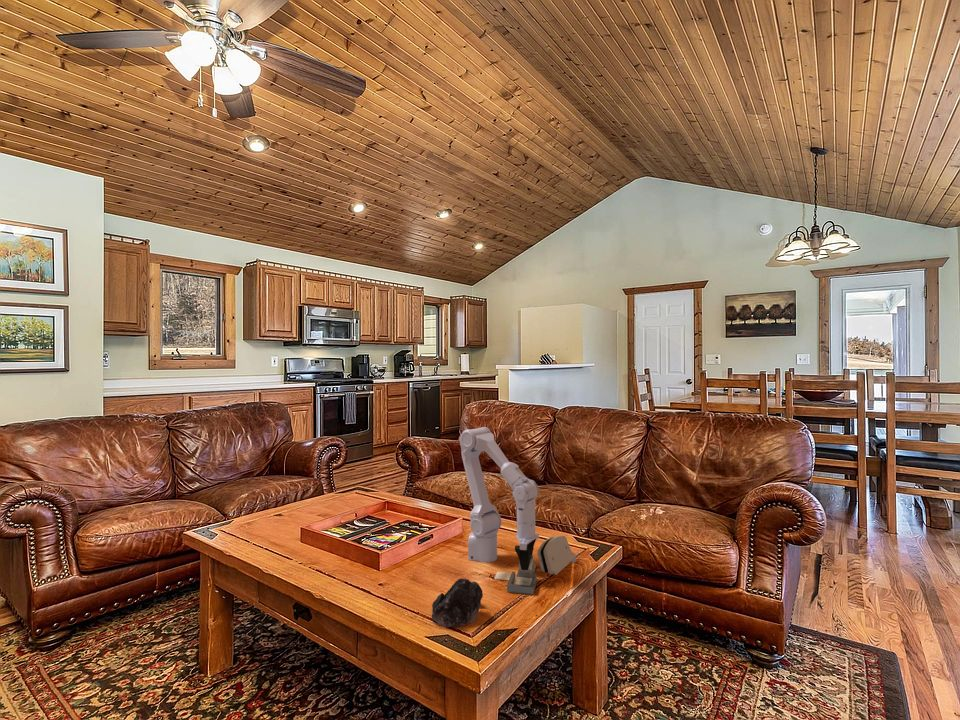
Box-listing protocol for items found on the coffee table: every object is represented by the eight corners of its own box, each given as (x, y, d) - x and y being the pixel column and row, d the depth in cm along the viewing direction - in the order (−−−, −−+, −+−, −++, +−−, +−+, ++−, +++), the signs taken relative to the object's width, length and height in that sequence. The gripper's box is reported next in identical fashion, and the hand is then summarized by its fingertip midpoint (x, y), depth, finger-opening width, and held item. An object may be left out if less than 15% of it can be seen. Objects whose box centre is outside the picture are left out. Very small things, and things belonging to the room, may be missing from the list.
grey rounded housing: (556, 578, 150) (546, 545, 152) (543, 580, 152) (533, 548, 154) (577, 559, 164) (568, 529, 166) (565, 561, 166) (555, 531, 168)
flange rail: (507, 595, 140) (507, 585, 140) (517, 567, 158) (516, 558, 158) (533, 598, 138) (533, 587, 138) (540, 569, 157) (540, 559, 157)
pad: (494, 581, 148) (494, 578, 148) (497, 574, 153) (497, 571, 153) (510, 583, 147) (510, 580, 147) (513, 576, 152) (513, 572, 152)
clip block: (519, 572, 151) (518, 555, 151) (520, 567, 155) (520, 550, 155) (532, 573, 150) (531, 556, 150) (533, 568, 154) (533, 551, 154)
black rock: (420, 625, 126) (420, 589, 125) (444, 596, 139) (445, 563, 138) (467, 640, 121) (468, 603, 120) (488, 609, 134) (489, 575, 132)
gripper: (536, 529, 145) (536, 575, 145) (541, 514, 159) (541, 555, 159) (512, 528, 146) (513, 573, 146) (519, 512, 160) (520, 554, 160)
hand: (526, 564), depth 153 cm, fingers open, 7 cm apart
